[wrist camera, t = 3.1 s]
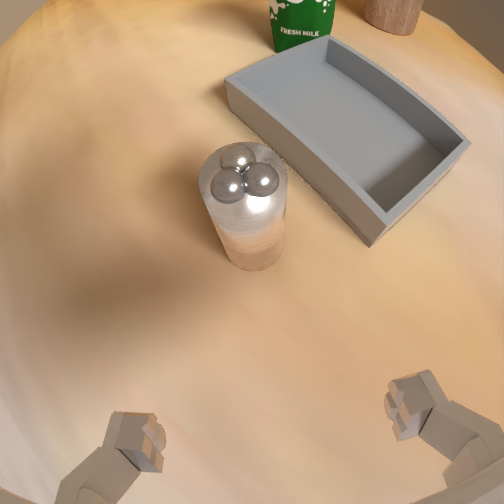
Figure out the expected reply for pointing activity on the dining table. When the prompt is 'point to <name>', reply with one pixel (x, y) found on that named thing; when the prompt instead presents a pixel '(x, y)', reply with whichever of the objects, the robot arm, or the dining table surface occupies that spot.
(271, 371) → the dining table surface
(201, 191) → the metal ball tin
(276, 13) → the milk carton
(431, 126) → the bin
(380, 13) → the planter
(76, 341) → the dining table surface
